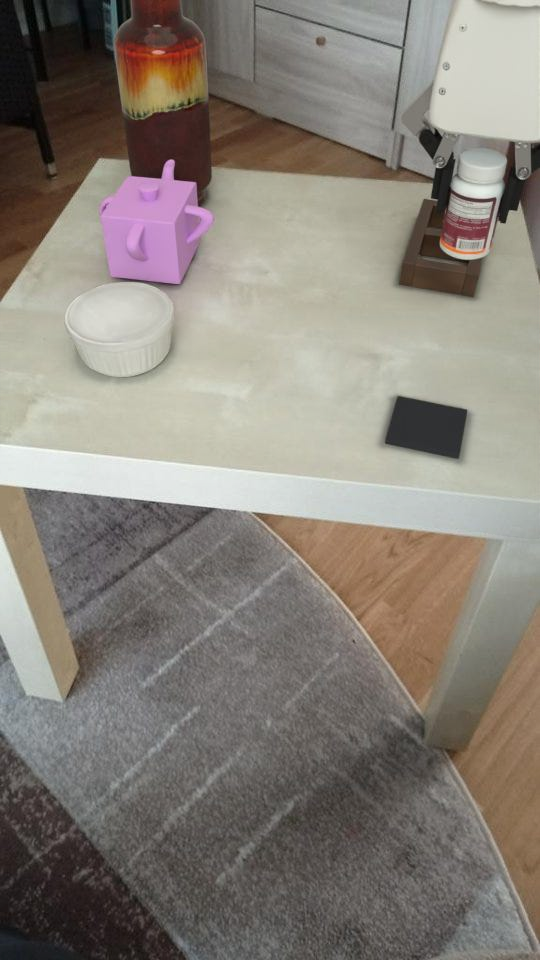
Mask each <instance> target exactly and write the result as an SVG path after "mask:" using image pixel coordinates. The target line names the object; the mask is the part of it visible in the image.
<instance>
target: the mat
mask: <svg viewBox="0 0 540 960" xmlns="http://www.w3.org/2000/svg"><path fill="white" fill-rule="evenodd" d="M467 414H468V409H466V408H461V407H458V406H457V407H456V406H451V405H446V404H441V403H437V402H431V401H426V400H423V399H422V400H421V399H415V398H411V397H407V396H402V395H397V397H396V401H395V405H394V409H393V412H392V416H391V419H390V423H389V427H388V431H387V434H386V437H385V442H384V443H385V444H387V445H392V446H395V447H401V448H405V449H409V450H410V449H411V450H413V451H414V450H415V451H420V452H424V453H429V454H433V455H437V456H442V457H448V458H451V459H459V458H460V454H461V449H462V443H463V437H464V432H465V426H466V421H467Z"/></svg>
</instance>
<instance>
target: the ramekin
mask: <svg viewBox="0 0 540 960" xmlns="http://www.w3.org/2000/svg"><path fill="white" fill-rule="evenodd" d="M175 313H176V312H175V304H174V302H173V300H172V298H171V297H170V296H169V295H168V294H167V293H165V292H164V291H163V290H162V289H159V288H158V287H156V286H154V285H151V284H148V283H143V282H137V281H117V282H109V283H105V284H102V285H98V286H94V287H93V288H90V289H88V290H85V291H84V292H82V293H81V294H79V295H78V296H76V297H75V298H74V299H73V300H72V301H71V302H70V303H69V304H68V306H67V308H66V309H65V311H64V314H63V315H64V316H63V324H64V327H65V331H66V333H67V335H68V336H69V337H70V339H71V340H72V342H73V344H74V347H75V348H76V351H77V353H78V355H79V357H80V358H81V360H82V361H83V363H84V364H85V365H86V366H87V367H88V368H90V369H91V370H93V371H94V372H96V373H98V374H101V375H104V376H107V377H111V378H130V377H136V376H139V375H143V374H145V373H147V372H149V371H151V370H153V369H155V368H156V367H158V366H159V365H160V364H161V363H162V362H163V360H165V358H166V357H167V356H168V354H169V352H170V350H171V345H172V336H173V325H174V321H175V317H176V314H175Z"/></svg>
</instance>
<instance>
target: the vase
mask: <svg viewBox="0 0 540 960" xmlns="http://www.w3.org/2000/svg"><path fill="white" fill-rule="evenodd" d="M129 2H130V10H131V17H130V18H129V19H127V20H126V21H124V22H122V24H121V25H120V26H119V28H118V29H117V30H116V33H115V35H114V37H113V50H114V58H115V59H114V61H115V66H116V75H117V81H118V91H119V96H120V104H121V112H122V119H123V127H124V134H125V141H126V148H127V157H128V163H129V170H130V176H134V177H145V178H156V179H161V178H162V173H163V168H164V165H165V163H166V162H167V161H168V160H174V161H175V166H174V180H177V181H187V182H196V185H197V200H198V207H201V206H202V204H203V203H204V202H205V200H206V198H207V194H206V190H205V189H206V188H207V187H208V186H209V185H210V183H211V181H212V176H213V174H212V172H213V171H212V170H213V169H212V144H211V143H212V142H211V125H210V124H211V123H210V102H209V99H210V98H209V84H208V83H209V82H208V81H209V80H208V63H207V48H206V38H205V34H204V33H203V32H202V30H201V28H200V27H199V26H198V24H196V23H195V22H194V21H192V20H191V19H189V18H188V17H185V16H184V14H183V6H182V0H130V1H129Z"/></svg>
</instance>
